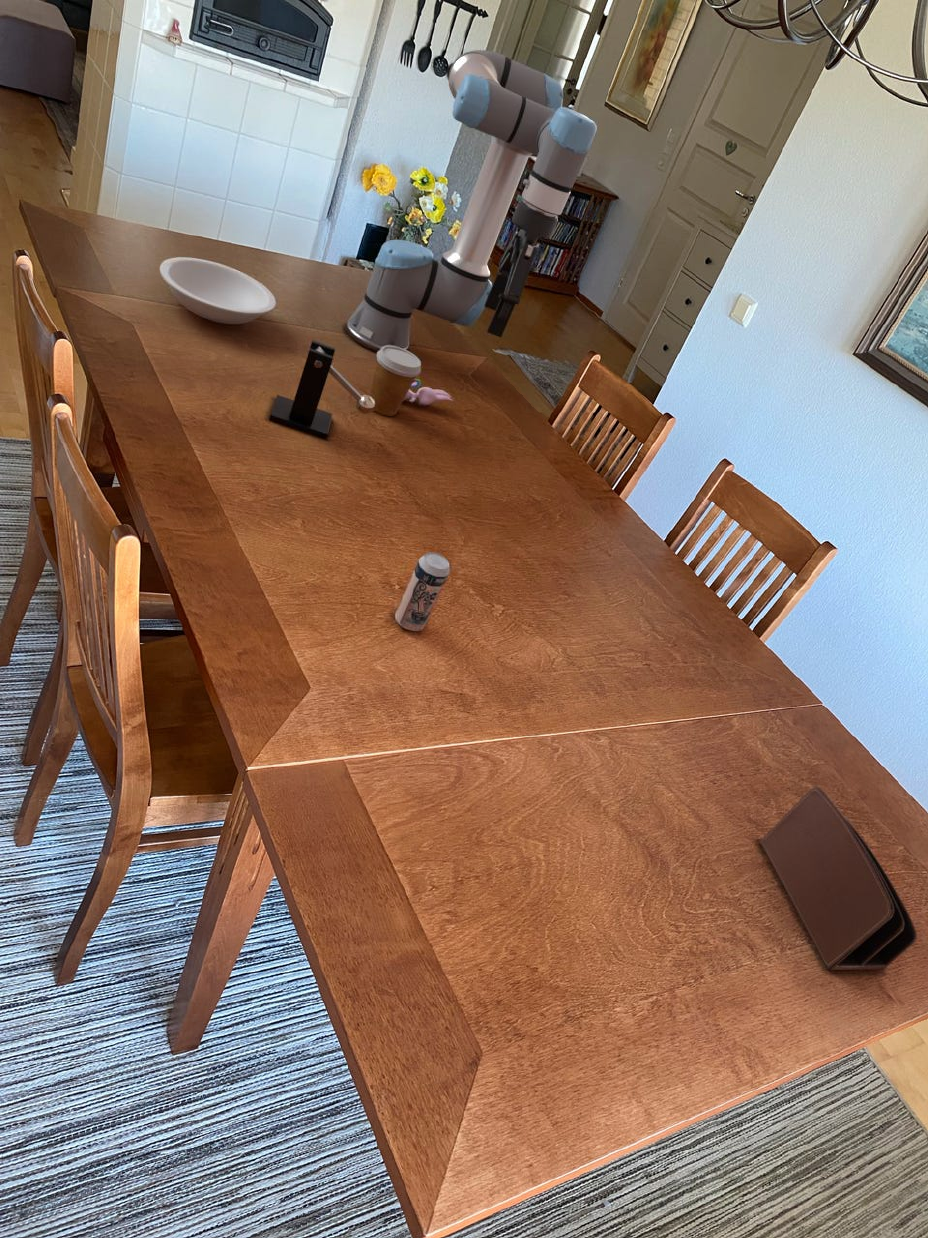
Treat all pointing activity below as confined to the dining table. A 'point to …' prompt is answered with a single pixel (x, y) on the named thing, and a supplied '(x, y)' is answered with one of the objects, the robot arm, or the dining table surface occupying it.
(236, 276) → the soup bowl
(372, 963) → the dining table surface
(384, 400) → the disposable coffee cup
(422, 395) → the rabbit figure
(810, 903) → the letter holder
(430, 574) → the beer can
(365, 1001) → the dining table surface
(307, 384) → the bracket
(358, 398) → the ball-tipped metal rod
